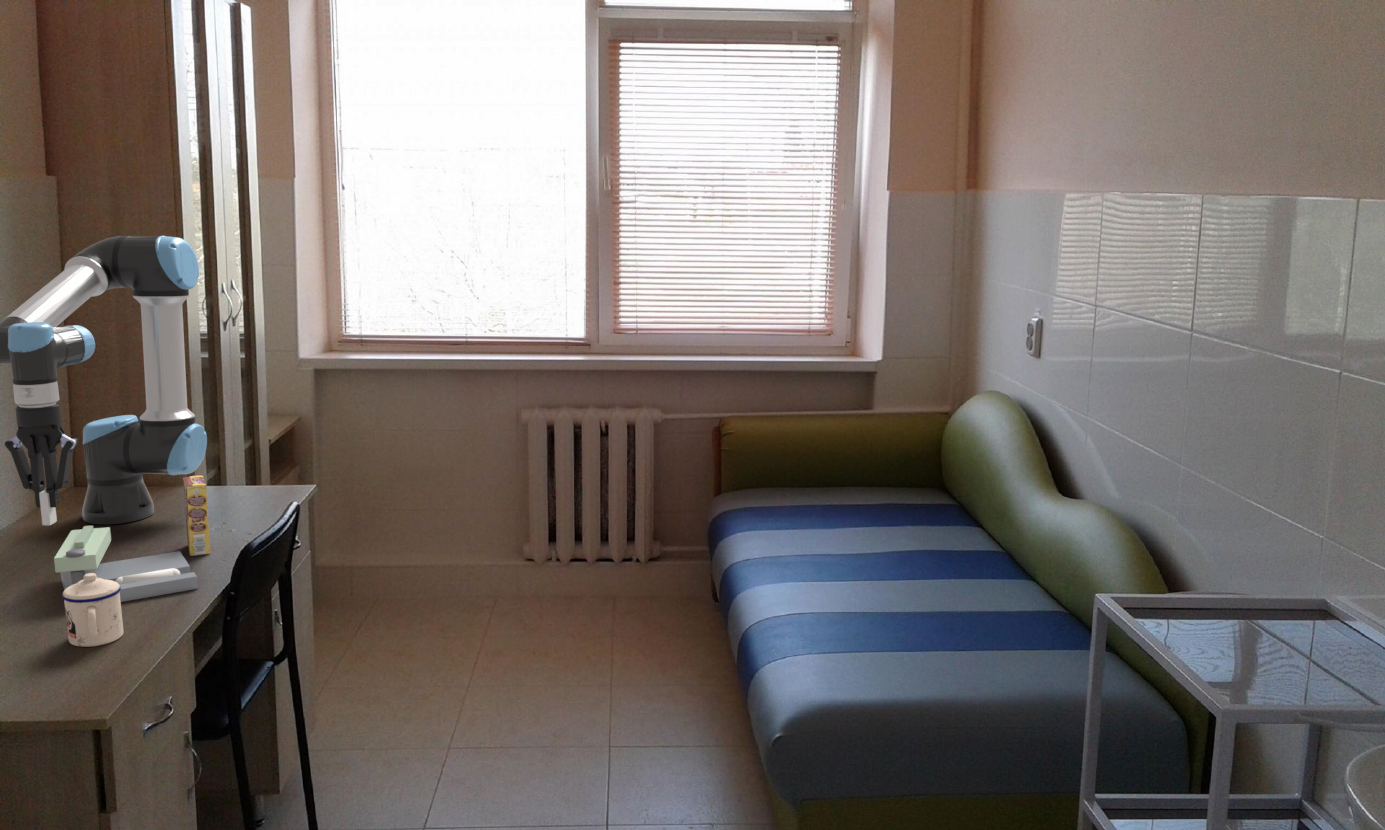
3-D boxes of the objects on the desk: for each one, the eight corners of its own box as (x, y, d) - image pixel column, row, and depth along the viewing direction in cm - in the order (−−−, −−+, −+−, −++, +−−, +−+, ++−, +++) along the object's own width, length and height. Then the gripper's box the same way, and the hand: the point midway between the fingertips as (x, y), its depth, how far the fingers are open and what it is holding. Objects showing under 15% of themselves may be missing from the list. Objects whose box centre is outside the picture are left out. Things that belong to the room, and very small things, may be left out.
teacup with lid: (68, 632, 212) (61, 569, 209) (125, 624, 215) (119, 562, 213) (64, 658, 201) (57, 592, 199) (124, 649, 205) (118, 584, 202)
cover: (96, 569, 225) (94, 549, 224) (54, 573, 223) (52, 553, 222) (111, 540, 243) (109, 521, 242) (72, 543, 241) (70, 524, 240)
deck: (61, 581, 237) (58, 553, 236) (180, 562, 248) (178, 535, 247) (71, 610, 222) (68, 580, 221) (197, 588, 233) (195, 559, 232)
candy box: (212, 554, 254) (206, 484, 251) (190, 557, 252) (184, 486, 249) (208, 542, 262) (203, 474, 258) (187, 544, 260) (181, 476, 257)
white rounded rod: (113, 587, 232) (113, 575, 231) (179, 576, 238) (178, 564, 237) (116, 595, 230) (115, 582, 229) (182, 583, 236) (181, 571, 235)
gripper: (-8, 407, 225) (5, 529, 230) (63, 407, 226) (75, 528, 230) (12, 400, 232) (25, 518, 237) (81, 400, 233) (92, 517, 238)
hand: (49, 523), depth 234 cm, fingers closed
